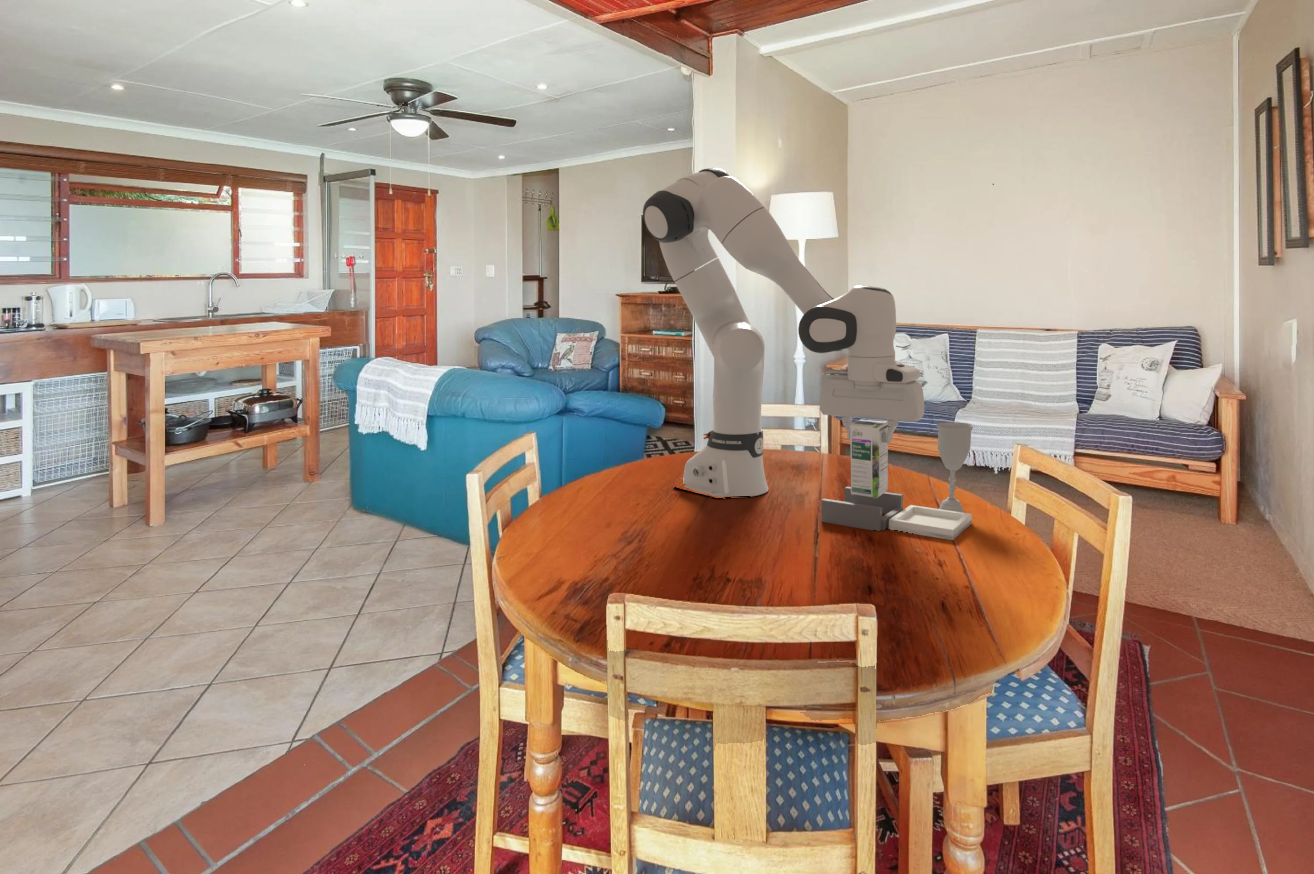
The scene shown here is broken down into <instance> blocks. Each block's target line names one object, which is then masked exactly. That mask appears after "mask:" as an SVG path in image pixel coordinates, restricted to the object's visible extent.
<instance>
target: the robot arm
mask: <svg viewBox="0 0 1314 874" xmlns="http://www.w3.org/2000/svg"><path fill="white" fill-rule="evenodd" d="M642 208H643V209H642V218H643V224H644V226H645V228H646V230H647V232H648V234H649V235H650V236H652V238H653V239H655V240H656V241H658V242H659V248H660V250H661V254H662V257H663V259H664V261H665V265H666V267H667V270H668V272H669V275H670V276H671V278H672V281H673V282H674V283H675V286H676V288H677V289H678V290H677V291H679V294H680V295H681V297H682V299H683V301H684V303H685V304H686V307H687V308H688V311H689V312H690V314H691V316H692V318H693V320H694V322H695V324H696V326H697V328H698V330H699V332H700V334H701V335H702V337H703V340H704V341H705V343H706V346H707V347H708V350H709V351H710V353H711V355H712V357H713V387H712V388H713V392H712V423H713V424H712V425H713V426H712V427H713V429H712V430H710V431H709V432H708V433H705V434H703V436H704V437H703V439H704V440H707V443H706V446H704V447H703V448H702V449H701V450H699V451H698V452H697V453H696V454H694V455H693V456H692V457H690V458H688V460H687V461H686V462H685V465H684V468H683V469H684V471H683V477H682V478H683V484H686V485H685V486H684V487H686V488H689V489H692V490H695V491H698V492H701V493H706V494H709V495H712V496H717V497H724V496H750V497H755V496H760V495H763V494H766V493H767V492H768V491H769V486H768V482H767V479H766V475H765V473H766V472H765V469H764V460H763V453H764V430H763V429H762V393H763V385H764V384H763V381H764V371H765V368H764V367H765V353H766V352H765V347H766V346H765V340H764V338H763V335H762V333H761V332H760V331H759V330H758V329H757V328H756V327H754V326H753V325H752V324H751V323H750V321H749V318H748V316H747V314H746V312H745V310H744V308H743V306H742V304H741V301H740V299H739V296H738V294H737V291H736V289H735V287H734V285H733V283H732V281H731V279H730V278H729V275H728V274H727V272H726V270H725V267H724V266H723V264H722V262H721V260H720V258H719V256H718V255H717V253H716V251H715V248H714V247H713V245H712V244H711V242H710V239H709V231H711V232H712V234H713V235H714V236H715V237H716V239H717V240H718V242H719V243H720V244H721V245H722V247H723V248H724V249H725V250H726V252H727V253H728V254H729V255H730V256H731V257H732V258H733V259H734V260H735V261H736V262H738V264H740V266H742V267H743V268H745V269H746V270H748V271H750V272H753V273H754V274H755V273H756V274H757V275H760V276H763V277H765V278H767V279H769V280H770V281H772V282H773V283H774V284H776V285H777V286H779V287H780V288H781V290H783V292H784V293H785V294H786V295H787V296H788V297H789V299H790V300H791V301H792V302H793V304H794V305H795V307H797V309H799V310H800V311H801V314H803V315H802V316H801V319H800V321H799V323H798V328H797V329H798V336H799V339H800V342H801V344H802V345H803V346H804V347H805V348H806V349H807V350H809V351H811V352H814V353H816V354H823V355H827V354H831V353H835V352H841V351H845V350H846V351H847V369H845V368H844V369H842V368H841V369H835V368H829V369H828V370H827V371H824V372H823V373H822V375H821V379H820V381H821V382H820V386H821V392H820V397H819V398H820V400H819V410H820V412H821V414H822V415H824V416H836V417H841V423H842V424H843V426H844V428H845V429H846V433H847V439H848V440H850V425H852V424H853V423H852V421H854V418H860V419H871V420H873V419H874V420H882V421H886V420H887V421H888V422H887V425H888V431H887V432H884V433H882V442H885V443H888V444H890V443H892V441H893V433H894V432H895V430H896V428H897V427H898V426H899V422H908V423H909V422H910V423H915V422H918V421H920V420H921V419H922V418H923V417H924V415H925V396H924V390H923V387H922V385H921V383H920V382H919V381H918V380H920V377H921V370H920V369H918V368H916V367H914V366H910V365H909V364H908V365H907V364H906V363H902V362H901V361H897V360H896V350H895V346H894V342H895V341H894V340H895V336H896V332H897V315H896V313H897V311H896V301H895V297H894V295H893V294H892V292H891V291H889V290H888V289H886V288H882V287H878V286H871V285H863V284H861V285H855V286H852V288H851V289H850V290H849V291H847V292H846V293H844V294H841V295H840V296H838V297H836V298H833V297H832V296H831V294H829V293H828V292H827V291H826V290H825V288H823V287H822V286H821V284H820V283H819V282H818V281H817V280H816V278H815V277H814V276H813V275H812V274H811V272H809V271H808V269H807V268H806V267H805V266H804V264H803V263H802V262H801V261H800V259H799V257H798V256H797V254H796V253H795V251H794V250H793V247H792V246H791V245H790V243H789V241H788V240H787V238H786V235H785V234H784V232H783V230H782V228H781V227H780V225H779V224H778V223H777V221H776V220H775V218H774V217H773V216H772V214H771V213H770V212H769V210H768V209H767V208H766V206H765V205H764V204H763V203H762V202H761V201H760V199H758V198H757V196H756V195H755V194H754V193H753V192H752V191H751V190H750V189H749V188H748V187H747V186H745V185H744V184H743V183H742V182H741V181H739V180H738V179H737V178H735V177H733V176H730V175H729V174H728V173H727V172H726V171H725V170H724V169H722V168H719V167H709V168H703V169H701V170H698V172H695V173H692V174H689V175H685V176H684V177H682V178H679V179H677V180H676V181H675V182H673V183H671V184H670V185H668V186H666V187H665V188H664V189H662V190H658V191H656V192H655V193H653V194H652V195H651V196H650V197H649V198H648V199H647V200H646V201H645V203H644V205H643V207H642Z"/></svg>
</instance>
